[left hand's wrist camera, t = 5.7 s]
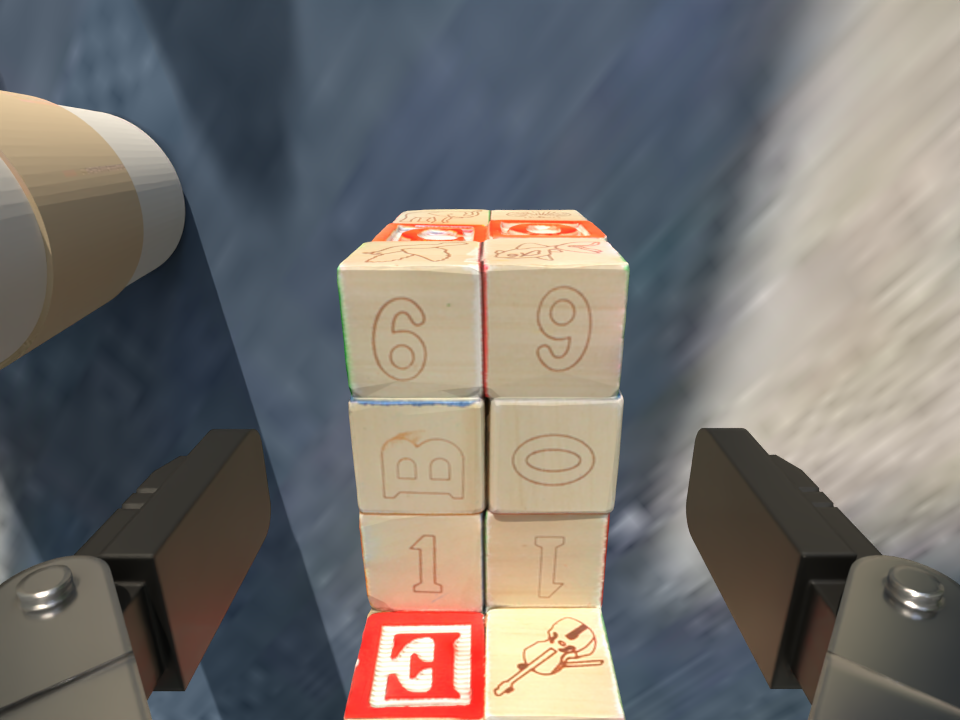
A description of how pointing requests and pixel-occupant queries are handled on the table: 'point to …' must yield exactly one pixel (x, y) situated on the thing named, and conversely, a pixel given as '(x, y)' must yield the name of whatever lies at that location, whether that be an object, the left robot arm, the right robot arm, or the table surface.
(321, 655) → the table surface
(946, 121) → the table surface
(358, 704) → the stack of blocks
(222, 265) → the table surface
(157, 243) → the coffee cup
